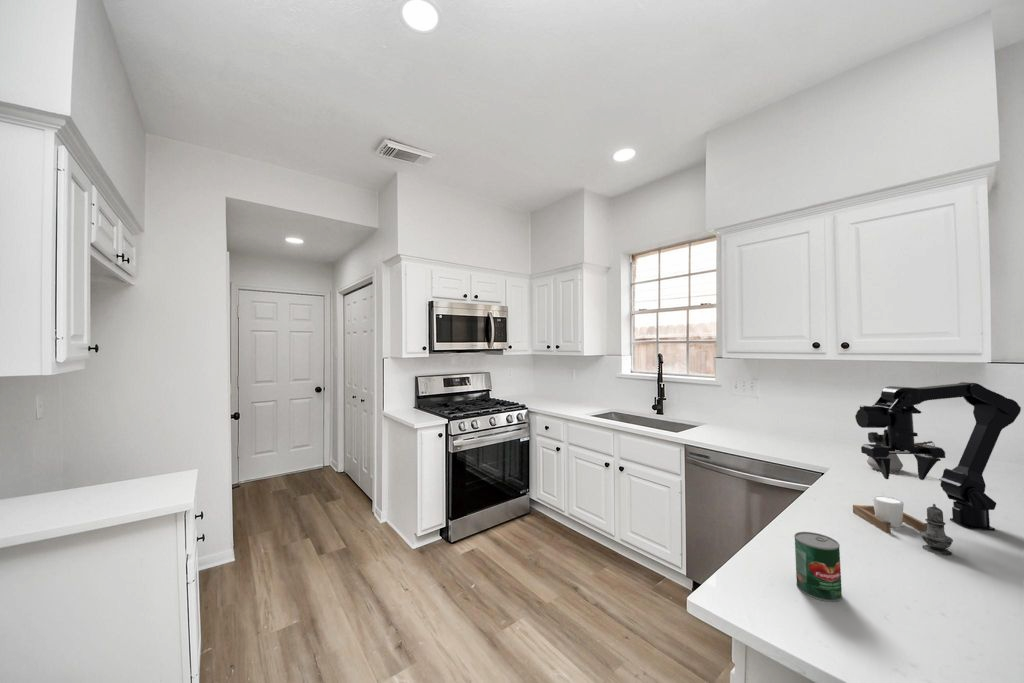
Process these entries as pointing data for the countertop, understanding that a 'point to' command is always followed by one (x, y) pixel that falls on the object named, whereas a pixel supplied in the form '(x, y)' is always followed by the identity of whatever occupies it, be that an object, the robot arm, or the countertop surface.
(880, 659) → the countertop surface
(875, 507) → the white tapered cup
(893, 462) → the coffee pot
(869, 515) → the wooden stand
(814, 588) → the canned tomato
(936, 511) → the salt shaker
